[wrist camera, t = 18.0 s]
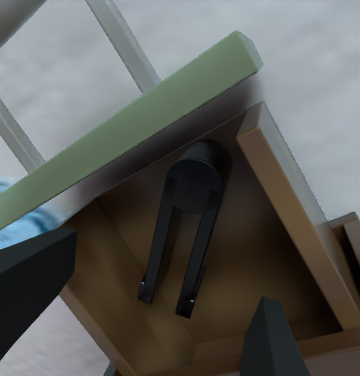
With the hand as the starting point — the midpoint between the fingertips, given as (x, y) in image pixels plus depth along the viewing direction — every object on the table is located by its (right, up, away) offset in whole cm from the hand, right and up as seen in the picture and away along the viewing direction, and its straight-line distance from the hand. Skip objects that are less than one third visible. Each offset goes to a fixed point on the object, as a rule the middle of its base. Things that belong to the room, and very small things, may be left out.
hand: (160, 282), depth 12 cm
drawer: (+1, +4, +5) cm, 7 cm away
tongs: (+1, +2, +5) cm, 5 cm away
